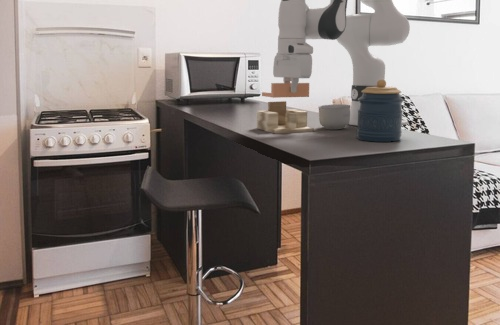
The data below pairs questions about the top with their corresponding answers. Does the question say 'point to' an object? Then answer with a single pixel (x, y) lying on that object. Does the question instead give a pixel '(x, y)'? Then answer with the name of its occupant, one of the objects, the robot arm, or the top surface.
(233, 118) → the top surface
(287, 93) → the orange angled block
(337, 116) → the teacup
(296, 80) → the robot arm
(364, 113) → the canister
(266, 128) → the wooden block stack
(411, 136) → the top surface
